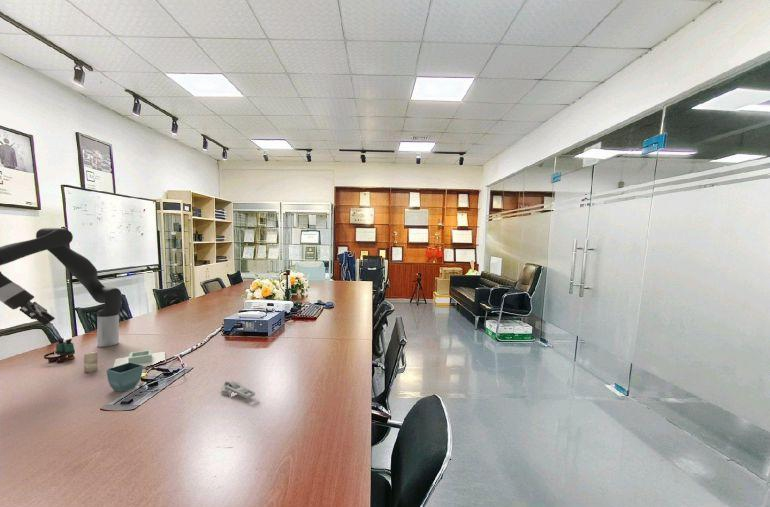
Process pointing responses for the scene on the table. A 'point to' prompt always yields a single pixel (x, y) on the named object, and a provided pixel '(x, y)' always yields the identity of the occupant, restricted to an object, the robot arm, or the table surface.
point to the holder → (141, 358)
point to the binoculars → (62, 351)
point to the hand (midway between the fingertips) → (50, 321)
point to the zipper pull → (236, 389)
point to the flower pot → (124, 376)
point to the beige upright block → (90, 362)
